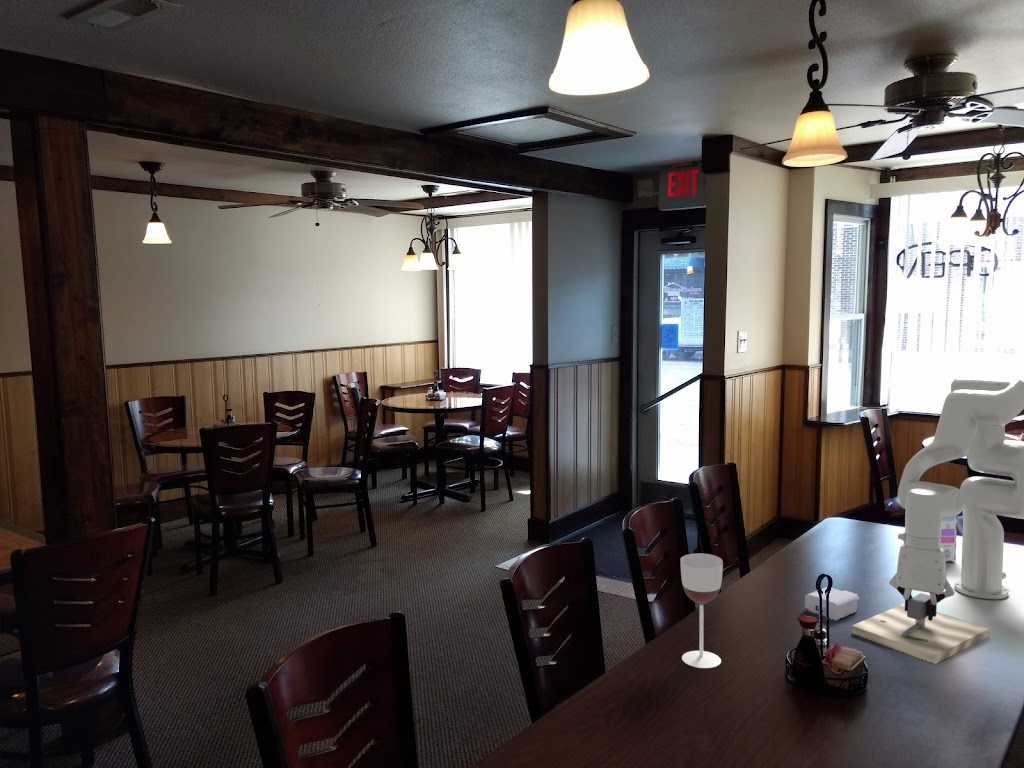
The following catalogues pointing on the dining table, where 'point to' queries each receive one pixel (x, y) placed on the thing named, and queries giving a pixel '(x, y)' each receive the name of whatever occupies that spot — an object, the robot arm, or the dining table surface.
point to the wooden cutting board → (921, 634)
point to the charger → (833, 603)
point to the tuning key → (917, 611)
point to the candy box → (949, 538)
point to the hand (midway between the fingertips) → (920, 615)
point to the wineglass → (701, 597)
